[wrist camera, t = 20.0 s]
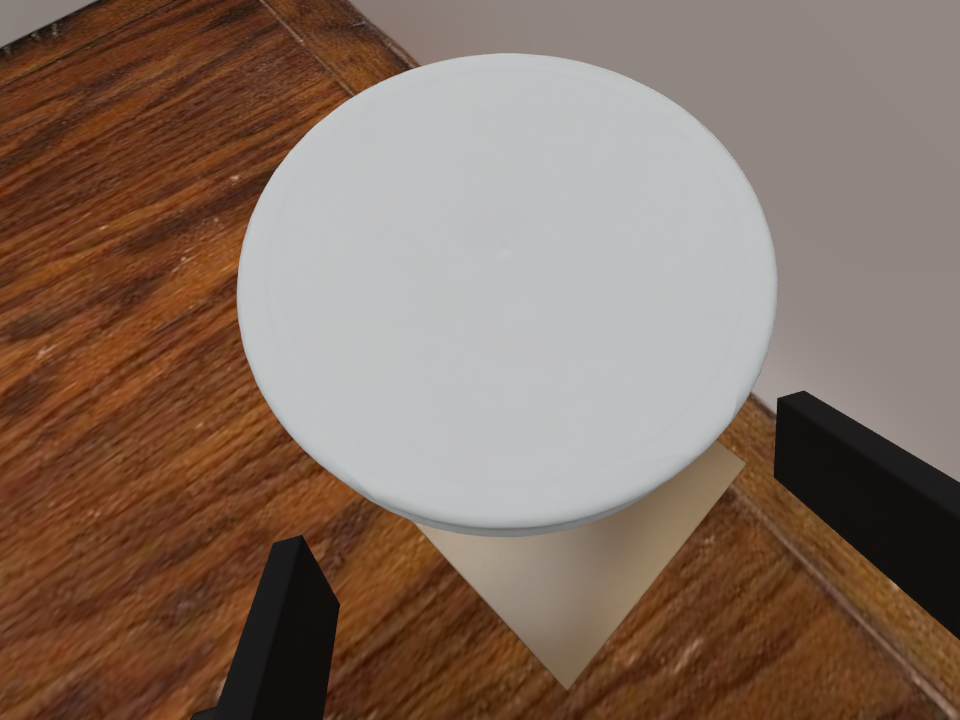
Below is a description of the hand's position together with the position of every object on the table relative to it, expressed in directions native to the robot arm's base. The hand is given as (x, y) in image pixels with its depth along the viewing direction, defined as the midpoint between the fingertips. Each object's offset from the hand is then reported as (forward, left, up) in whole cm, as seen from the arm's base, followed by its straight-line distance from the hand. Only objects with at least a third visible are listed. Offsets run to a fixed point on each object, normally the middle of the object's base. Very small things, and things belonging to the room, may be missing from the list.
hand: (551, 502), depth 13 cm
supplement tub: (+4, -2, -8) cm, 9 cm away
